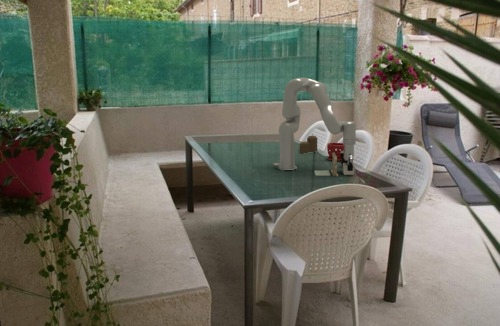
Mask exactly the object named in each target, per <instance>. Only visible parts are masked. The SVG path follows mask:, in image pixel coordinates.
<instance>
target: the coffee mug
mask: <svg viewBox="0 0 500 326" xmlns="http://www.w3.org/2000/svg"><path fill="white" fill-rule="evenodd" d="M336 155H340V154H336ZM340 157H341V160H342V161H339V160H337V162H339V163H340V164H341V168H343V163H345V159H344V151H341V155H340Z"/></svg>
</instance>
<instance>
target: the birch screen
mask: <svg viewBox="0 0 500 326" xmlns="http://www.w3.org/2000/svg"><path fill="white" fill-rule="evenodd" d="M331 162H332V163H331V164H332V168H331V169H330V172H331V173H330V174H331V175H332V176H333V177H338V176H339V173H338V161H337V156H336V154H335V153H333V156H332V161H331Z"/></svg>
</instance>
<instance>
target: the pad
mask: <svg viewBox="0 0 500 326" xmlns="http://www.w3.org/2000/svg"><path fill="white" fill-rule="evenodd" d="M313 172H314V175H315V177H319V176H321V177H323V176H324V177H325V176H326V177H329V176H331V173H330V171H329V170H314V171H313Z"/></svg>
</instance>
